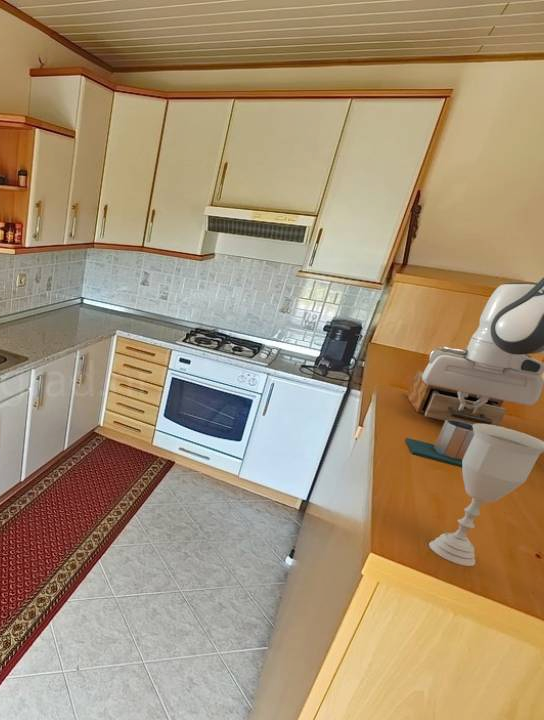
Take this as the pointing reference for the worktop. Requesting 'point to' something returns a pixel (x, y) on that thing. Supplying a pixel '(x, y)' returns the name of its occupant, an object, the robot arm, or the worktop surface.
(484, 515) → the worktop surface
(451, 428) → the gray faceted container
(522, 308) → the robot arm
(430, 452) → the mat
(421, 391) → the wooden drawer cabinet
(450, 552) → the chalice
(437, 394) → the wooden drawer box
